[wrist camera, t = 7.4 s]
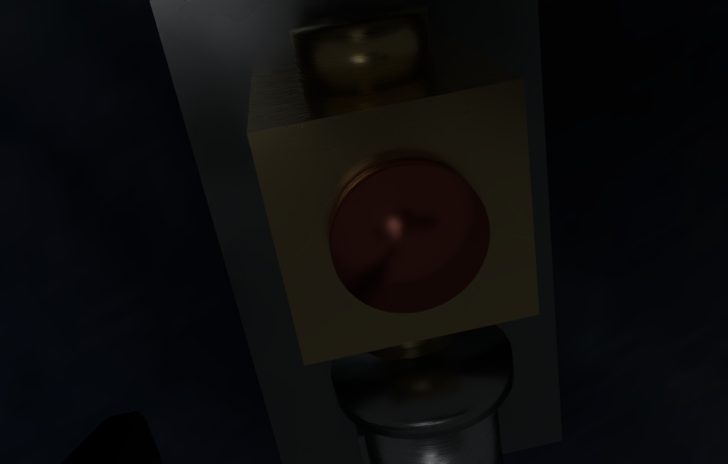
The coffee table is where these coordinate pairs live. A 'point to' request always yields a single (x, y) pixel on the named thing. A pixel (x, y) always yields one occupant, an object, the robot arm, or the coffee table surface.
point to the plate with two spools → (264, 279)
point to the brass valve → (394, 186)
